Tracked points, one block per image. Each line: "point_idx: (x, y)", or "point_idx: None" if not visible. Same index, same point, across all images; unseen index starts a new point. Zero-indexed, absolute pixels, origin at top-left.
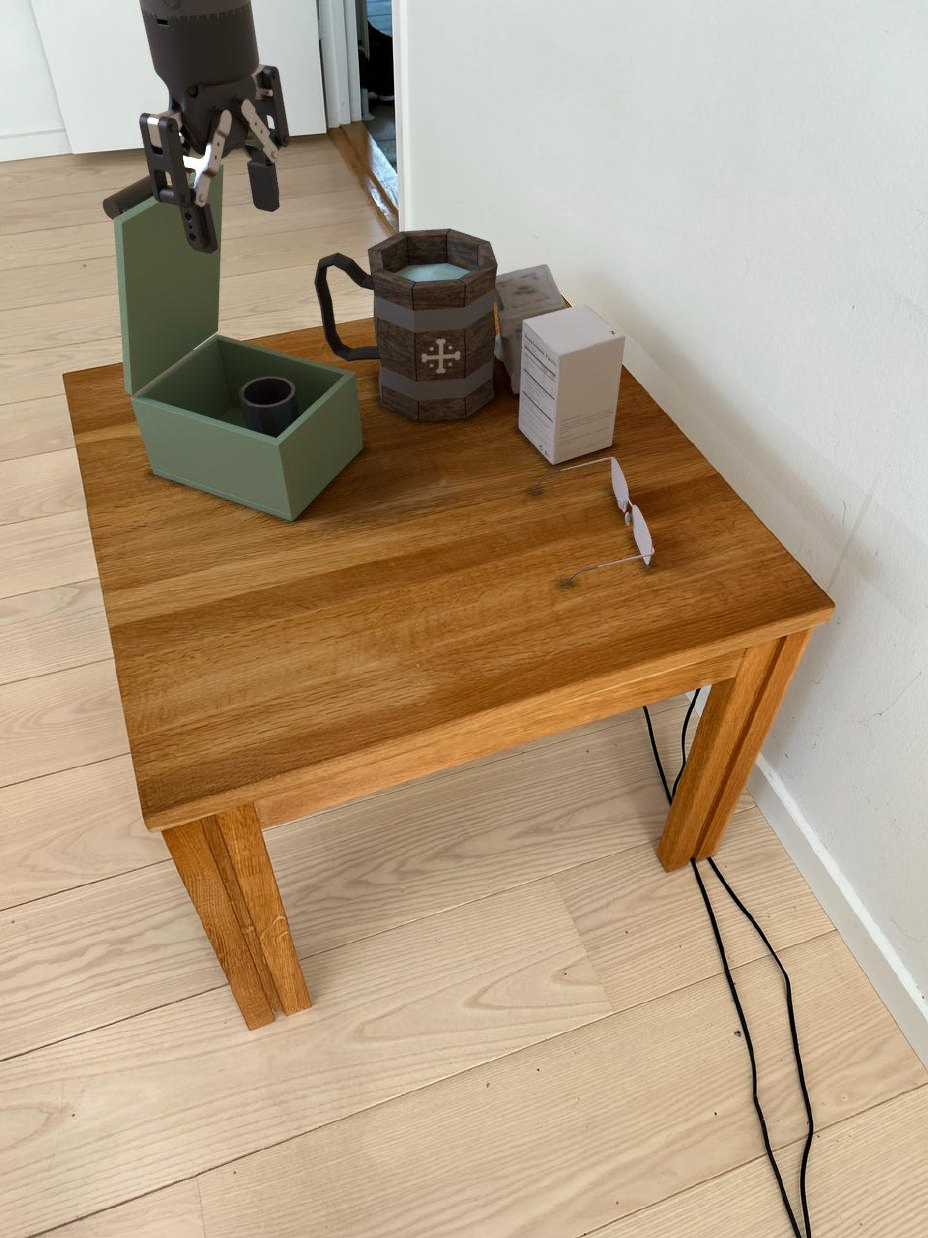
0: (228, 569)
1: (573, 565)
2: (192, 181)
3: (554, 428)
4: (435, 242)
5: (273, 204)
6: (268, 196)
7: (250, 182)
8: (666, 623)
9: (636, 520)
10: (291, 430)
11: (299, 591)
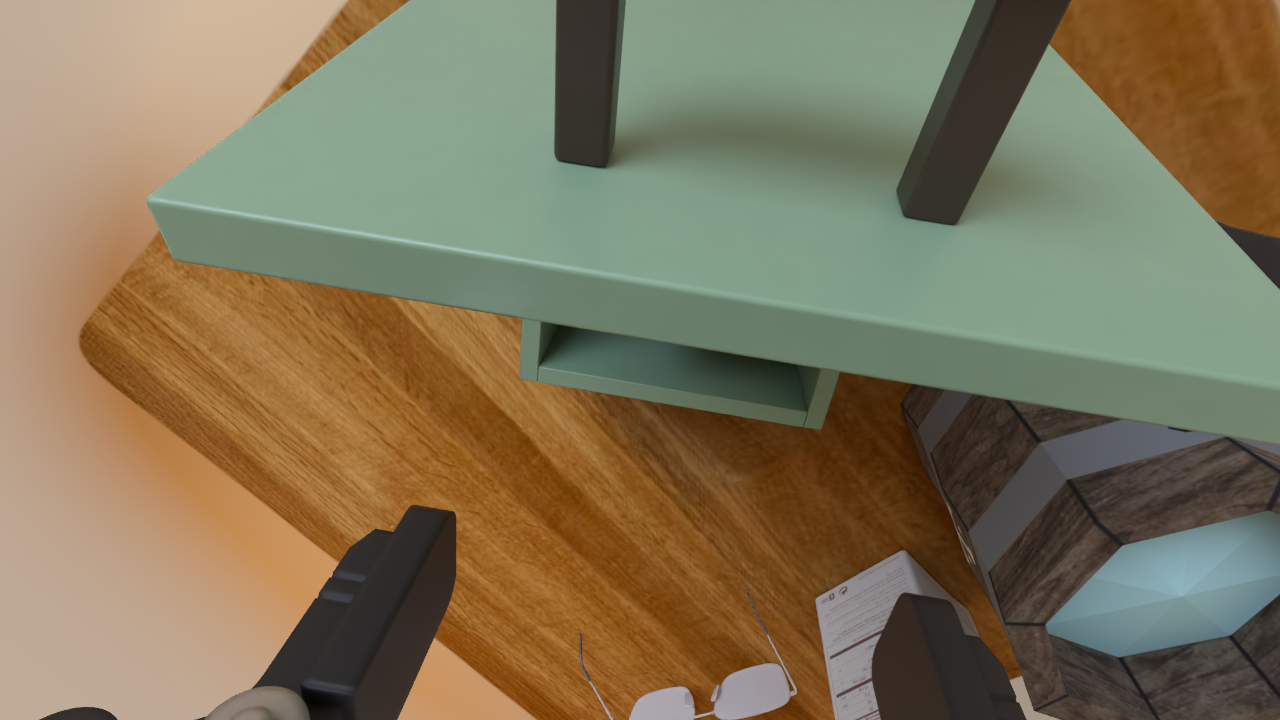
0: None
1: (617, 636)
2: (944, 386)
3: (824, 652)
4: None
5: (876, 693)
6: (890, 710)
7: (942, 695)
8: (564, 709)
9: (680, 712)
10: (573, 383)
11: (429, 367)
